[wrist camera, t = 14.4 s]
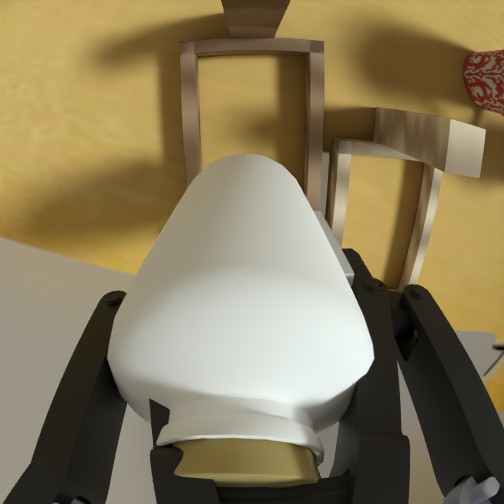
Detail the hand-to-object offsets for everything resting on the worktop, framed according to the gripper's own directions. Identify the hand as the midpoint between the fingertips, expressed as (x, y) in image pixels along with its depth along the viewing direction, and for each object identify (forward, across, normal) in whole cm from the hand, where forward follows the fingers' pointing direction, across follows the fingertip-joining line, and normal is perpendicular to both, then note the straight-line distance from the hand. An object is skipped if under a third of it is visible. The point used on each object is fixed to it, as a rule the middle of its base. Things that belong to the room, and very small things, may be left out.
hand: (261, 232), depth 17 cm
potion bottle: (+4, -1, 0) cm, 4 cm away
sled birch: (+12, +13, -4) cm, 18 cm away
